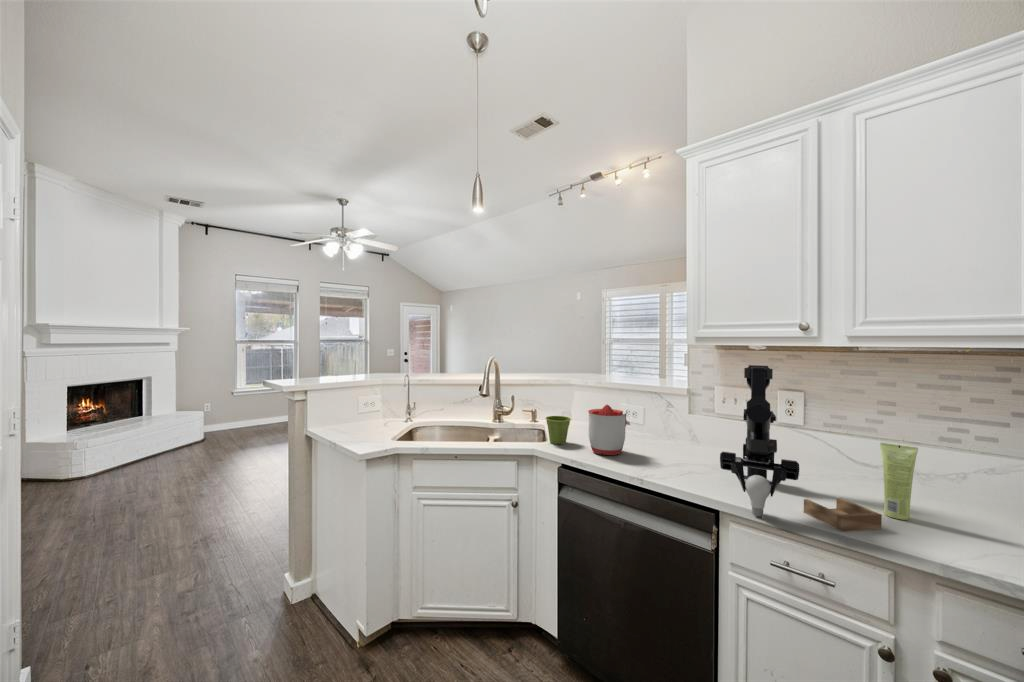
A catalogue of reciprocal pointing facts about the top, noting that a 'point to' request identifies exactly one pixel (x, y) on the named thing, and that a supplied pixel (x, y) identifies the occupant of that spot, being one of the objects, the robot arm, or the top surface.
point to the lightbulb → (757, 493)
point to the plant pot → (558, 428)
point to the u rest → (844, 515)
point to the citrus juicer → (607, 430)
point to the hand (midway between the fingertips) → (757, 493)
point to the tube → (898, 478)
